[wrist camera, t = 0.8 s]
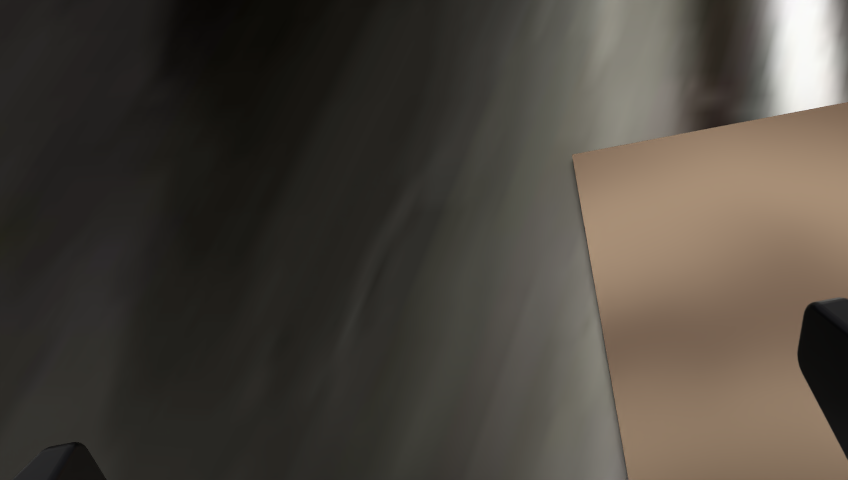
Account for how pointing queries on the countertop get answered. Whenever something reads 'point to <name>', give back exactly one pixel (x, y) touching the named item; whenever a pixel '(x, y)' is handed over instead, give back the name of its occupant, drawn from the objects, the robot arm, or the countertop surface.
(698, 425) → the walnut board
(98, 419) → the countertop surface
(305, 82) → the countertop surface
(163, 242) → the countertop surface
